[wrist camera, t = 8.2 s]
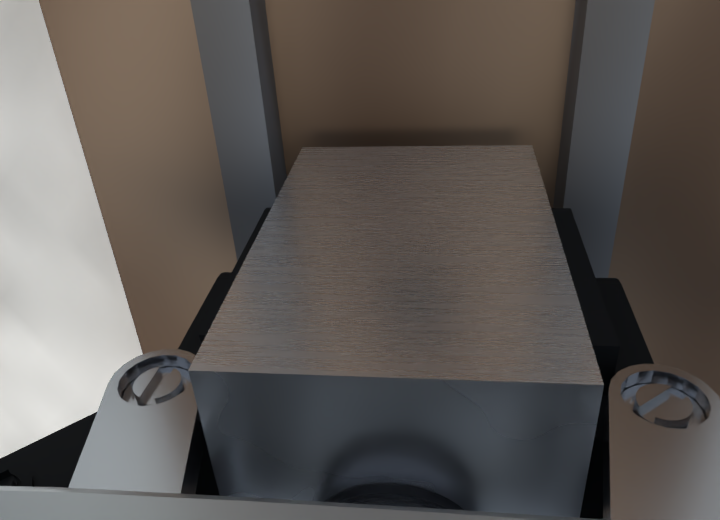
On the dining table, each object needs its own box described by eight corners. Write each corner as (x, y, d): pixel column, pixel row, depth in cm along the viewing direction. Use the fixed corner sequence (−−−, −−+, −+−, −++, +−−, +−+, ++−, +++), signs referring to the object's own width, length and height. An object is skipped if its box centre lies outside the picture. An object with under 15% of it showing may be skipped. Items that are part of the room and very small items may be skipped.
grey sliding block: (527, 129, 12) (623, 451, 5) (509, 345, 14) (560, 740, 8) (310, 131, 12) (157, 429, 6) (331, 340, 15) (241, 707, 8)
